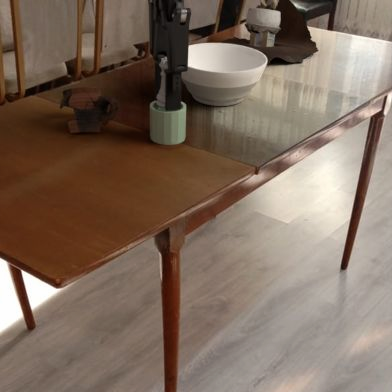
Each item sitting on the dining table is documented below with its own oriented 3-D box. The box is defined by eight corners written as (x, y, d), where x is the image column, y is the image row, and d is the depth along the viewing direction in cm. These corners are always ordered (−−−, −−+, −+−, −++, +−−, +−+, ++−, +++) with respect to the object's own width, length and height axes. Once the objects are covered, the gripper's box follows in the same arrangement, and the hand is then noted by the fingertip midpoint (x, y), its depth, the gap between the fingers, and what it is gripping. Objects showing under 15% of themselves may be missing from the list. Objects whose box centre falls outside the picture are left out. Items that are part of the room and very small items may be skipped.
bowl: (217, 75, 145) (219, 37, 139) (282, 99, 135) (287, 59, 129) (154, 94, 134) (153, 54, 129) (219, 122, 124) (222, 79, 119)
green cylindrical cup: (157, 147, 114) (157, 114, 111) (145, 133, 119) (144, 101, 115) (190, 142, 117) (191, 109, 113) (177, 128, 121) (177, 97, 117)
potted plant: (215, 59, 161) (230, -55, 151) (267, 66, 173) (283, -38, 163) (270, 65, 148) (290, -58, 138) (321, 73, 159) (343, -40, 149)
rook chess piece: (163, 99, 116) (163, 53, 111) (184, 103, 115) (185, 57, 109) (151, 107, 113) (150, 60, 108) (173, 111, 112) (173, 64, 106)
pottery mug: (54, 136, 118) (48, 89, 116) (78, 140, 126) (73, 97, 125) (112, 127, 114) (106, 79, 112) (132, 133, 123) (128, 88, 121)
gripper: (213, -36, 93) (206, 119, 109) (170, -57, 105) (169, 86, 121) (166, -34, 91) (166, 124, 107) (127, -55, 103) (132, 90, 118)
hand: (167, 103), depth 114 cm, fingers closed on rook chess piece, 4 cm apart
